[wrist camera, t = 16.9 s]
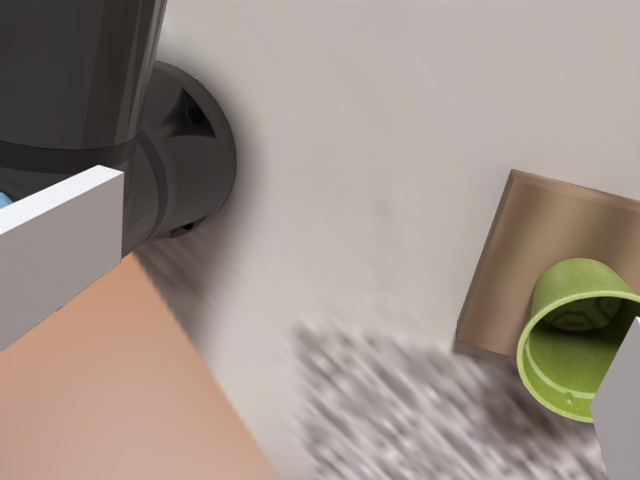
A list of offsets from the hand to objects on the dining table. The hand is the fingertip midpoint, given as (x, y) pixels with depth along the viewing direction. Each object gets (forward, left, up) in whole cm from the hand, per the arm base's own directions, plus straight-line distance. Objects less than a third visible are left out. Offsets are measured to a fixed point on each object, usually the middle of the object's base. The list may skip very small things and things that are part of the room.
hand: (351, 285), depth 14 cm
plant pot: (+14, -11, -28) cm, 33 cm away
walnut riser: (+14, -11, -31) cm, 35 cm away
